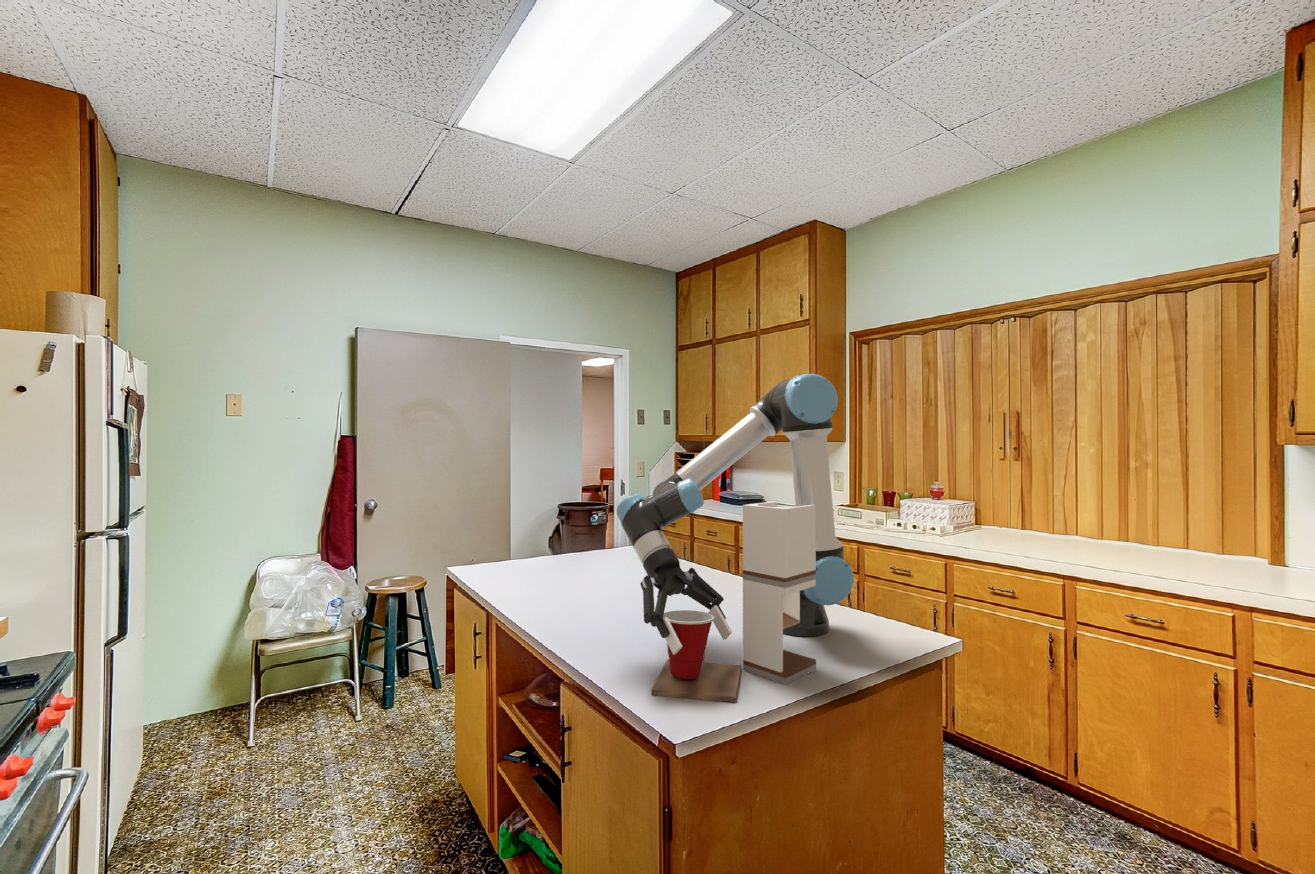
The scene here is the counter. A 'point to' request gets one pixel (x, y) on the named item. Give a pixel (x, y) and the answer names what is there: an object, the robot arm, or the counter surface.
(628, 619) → the counter surface
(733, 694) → the walnut board
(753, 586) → the white dispenser
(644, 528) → the robot arm
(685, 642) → the plastic cup
